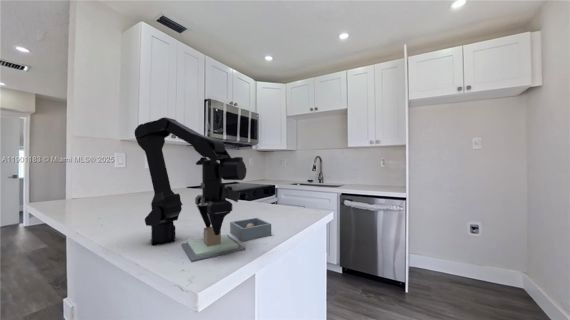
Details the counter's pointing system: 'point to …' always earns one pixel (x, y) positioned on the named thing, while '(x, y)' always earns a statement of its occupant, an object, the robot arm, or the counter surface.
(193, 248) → the lid
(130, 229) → the counter surface
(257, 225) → the dish
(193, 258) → the mat
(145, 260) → the counter surface
